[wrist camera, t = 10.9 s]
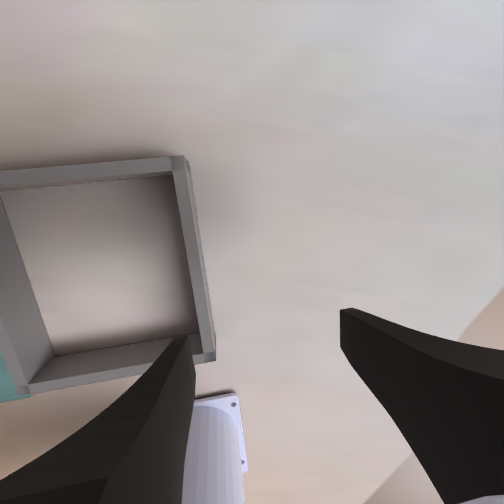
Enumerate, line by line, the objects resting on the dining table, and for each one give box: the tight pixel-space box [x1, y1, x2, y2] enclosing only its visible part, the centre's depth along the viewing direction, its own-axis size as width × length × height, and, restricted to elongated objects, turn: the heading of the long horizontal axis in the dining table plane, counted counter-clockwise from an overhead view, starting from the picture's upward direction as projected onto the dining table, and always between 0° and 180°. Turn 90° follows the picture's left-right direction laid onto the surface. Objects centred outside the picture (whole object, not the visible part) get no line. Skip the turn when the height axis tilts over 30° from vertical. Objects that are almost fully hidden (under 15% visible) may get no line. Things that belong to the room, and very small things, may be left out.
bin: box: [0, 155, 216, 396], centre depth 17 cm, size 15×14×3 cm
